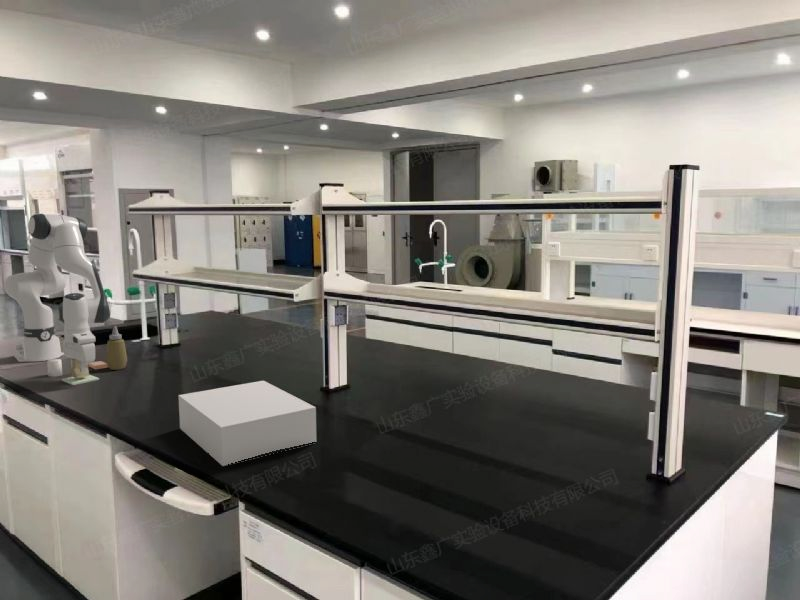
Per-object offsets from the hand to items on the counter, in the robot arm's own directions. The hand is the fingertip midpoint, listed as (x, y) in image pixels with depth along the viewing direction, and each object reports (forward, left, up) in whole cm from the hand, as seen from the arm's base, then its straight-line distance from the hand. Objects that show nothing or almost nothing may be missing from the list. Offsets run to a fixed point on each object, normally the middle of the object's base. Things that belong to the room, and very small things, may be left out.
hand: (79, 370), depth 240 cm
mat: (0, 0, -4) cm, 4 cm away
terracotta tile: (-16, +14, -4) cm, 22 cm away
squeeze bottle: (-7, +18, -4) cm, 20 cm away
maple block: (0, 0, -2) cm, 2 cm away
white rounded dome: (-16, -3, -4) cm, 17 cm away
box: (+99, +5, -4) cm, 100 cm away
